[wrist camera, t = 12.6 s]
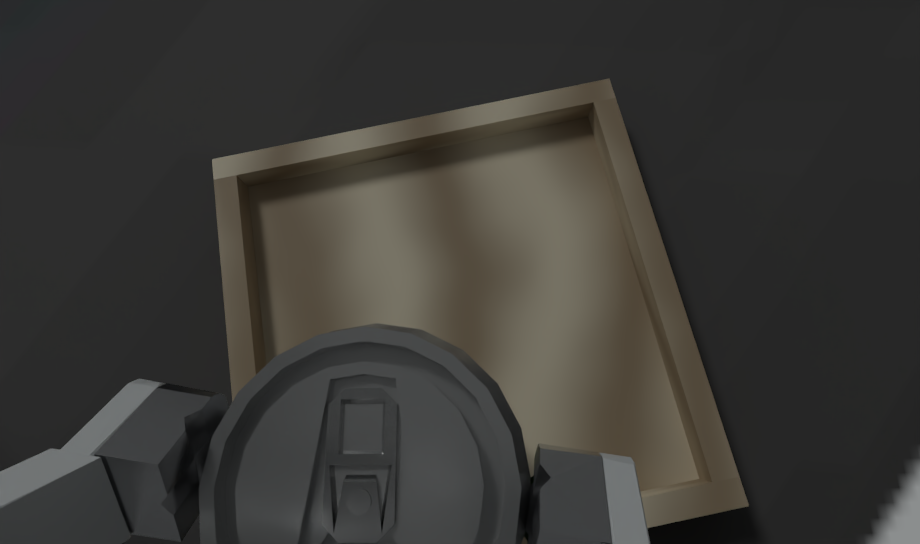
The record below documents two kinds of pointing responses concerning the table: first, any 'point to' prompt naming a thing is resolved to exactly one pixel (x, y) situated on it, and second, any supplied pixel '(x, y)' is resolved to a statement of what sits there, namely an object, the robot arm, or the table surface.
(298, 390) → the beer can
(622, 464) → the robot arm
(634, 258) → the birch tray
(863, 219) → the table surface
